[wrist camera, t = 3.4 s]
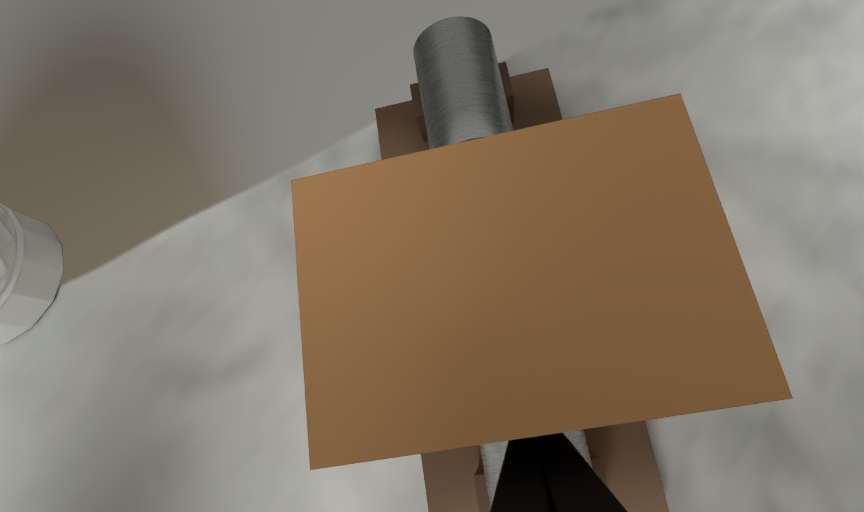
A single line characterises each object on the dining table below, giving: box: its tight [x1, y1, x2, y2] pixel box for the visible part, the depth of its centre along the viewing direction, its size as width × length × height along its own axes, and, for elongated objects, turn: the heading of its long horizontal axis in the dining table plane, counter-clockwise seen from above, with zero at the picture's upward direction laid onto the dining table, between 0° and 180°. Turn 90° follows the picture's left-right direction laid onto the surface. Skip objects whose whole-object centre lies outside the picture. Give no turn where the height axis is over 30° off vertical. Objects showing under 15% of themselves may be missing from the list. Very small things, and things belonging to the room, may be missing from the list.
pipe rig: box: [375, 17, 669, 512], centre depth 17 cm, size 18×8×6 cm, turn 9°
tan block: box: [291, 94, 792, 470], centre depth 13 cm, size 5×7×10 cm
